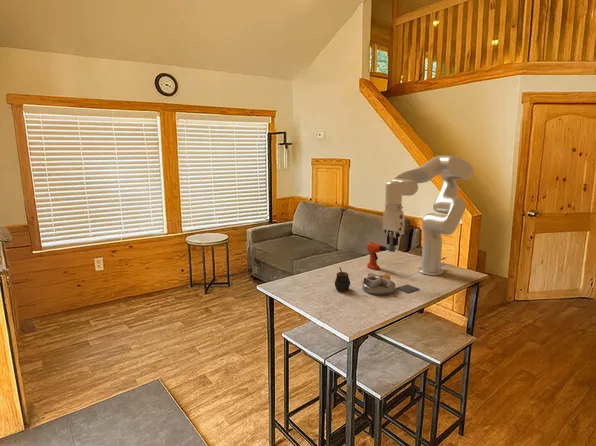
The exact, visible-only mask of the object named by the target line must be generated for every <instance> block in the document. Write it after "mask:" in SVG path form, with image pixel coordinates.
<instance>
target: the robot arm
mask: <svg viewBox="0 0 596 446" xmlns="http://www.w3.org/2000/svg"><path fill="white" fill-rule="evenodd" d="M473 174H474V168H473V165H472V164H471V163H470V162H468V161H466V160H465V159H462V158H460V157H458V156H456V155H445V154H444V155H443V154H442V155H440V154H439V155H436V156H434V157H432V158H431V159H429V160H428V161H427V162H425V163H423V164H422V165H420V166H418V167H415V168H412V169H410V170H407V171H406V170H405V171H404V172H402V173H400V174H398V175H396V176H395V177H394V178H392V179H391V180H388V181H386V183H385V199H384V200H385V202H384V204H385V205H384V206H385V207H384V210H383V215H382V216H383V217H382V227H381V230H382V231H383V232H384V234H385V236H386V245H389V231H394V238H393V246H395V247H396V246H399V238H400V236H401V235H404V234H405V215H404V211H403V209H404V206H403V205H402V204H403V196H407V197H410V196H414V195H415V194H417V193H418V190H419V185H418V184H424V183H428V182H430V181H432V180H433V179H434V178H436V177H437V176H440V177H441V183H442V184H441V188H440V190H439V193H438V194H437V196H436V198H435V200H434V201H433V205H432V207H433V209H432V210H434V212H436V213H432V212H430V213H426V214H425V215H424V216H423V217H422V220H421V227H422V247H421V248H422V249H421V250H422V253H421V264H420V265H421V266H419V267H418V268H417V270H418V272H419V273H420V274H421V275H427V276H441V275H443V274H444V270H443V269H442V267H444V266H446V263H445V262H442V261H441V260H442V249H443V237H442V235H446V236H447V235H448V236H449V235H452V234H454V233H455V231H456V229H457V228H458V226H459V224H460V222H461V220H462V218H463V216H464V214H465V211H466V202H465V200H464V199H463V198H461V197H458V193H459V186H458V183H457V181H456V180H462V181H463V180H464V181H465V180H469V179H471V177H472V176H473Z"/></svg>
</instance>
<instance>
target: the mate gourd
mask: <svg viewBox="0 0 596 446" xmlns="http://www.w3.org/2000/svg"><path fill="white" fill-rule="evenodd" d="M338 268H339V270H340V271H338V272H336V279H335V281H334V286H335V289H336V290H337V291H338V292H346V291H348V290H349V289H350V287H351V280H350V278H349V273H348V272H346V271H342V268H341V266H340V267H338Z"/></svg>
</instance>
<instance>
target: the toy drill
mask: <svg viewBox="0 0 596 446" xmlns="http://www.w3.org/2000/svg"><path fill="white" fill-rule="evenodd" d="M366 250H367V251H368V252H369V262H368V263H367V266H366V267H367V268H368V269H370V270H373V271H377V270H380V268H381V266H379V264H378V263H377V260H378V259H379V257H378V255H377V253H380V252H385V251H389V247H387V246H384V245H381V244H379V243H375V242H373V241H371V242H370V243H369V242H368V244H367V245H366Z"/></svg>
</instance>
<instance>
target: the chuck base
mask: <svg viewBox="0 0 596 446" xmlns="http://www.w3.org/2000/svg"><path fill="white" fill-rule="evenodd" d="M361 288H362V291H363V292H364V293H366V294H368V295H372V296H381V297H383V296H391V295H393V294H394V293H395V292H396V283H395V282H394V281H393V280H391V283H390V287H385V286H383V285H380V286H377V287H373V288H372V287H370V286H367V285H365V284H364V280H363V281H362V287H361Z"/></svg>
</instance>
